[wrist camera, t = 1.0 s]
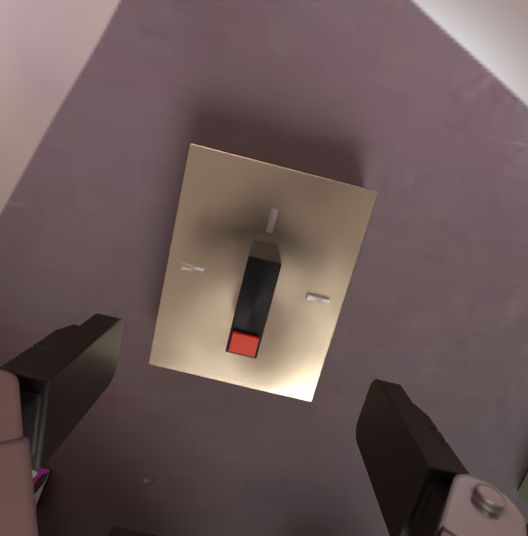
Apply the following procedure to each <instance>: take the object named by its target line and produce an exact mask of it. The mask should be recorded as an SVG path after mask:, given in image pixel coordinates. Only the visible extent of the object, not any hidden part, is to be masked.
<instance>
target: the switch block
mask: <svg viewBox="0 0 528 536" xmlns="http://www.w3.org/2000/svg"><path fill="white" fill-rule="evenodd" d="M518 492H519V494H520V495H521V496H522V497H523V498H524V500H525V501H526V502H527V503H528V472H527V474H526V476H525V478H524V480H523V482H522V484H521V486H520V488H519V490H518Z"/></svg>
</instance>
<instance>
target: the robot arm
mask: <svg viewBox="0 0 528 536" xmlns="http://www.w3.org/2000/svg"><path fill="white" fill-rule="evenodd" d="M122 331H123V320H122V319H119V318H115V317H111V316H106V315H102V314H95V315H94V316H92V317H91V318H90V319H88V320H87V321H85V322H84V323H83V324H81V325H80V326H78V325H71V326H68V327H65V328H61V329H58V330H56V331H54V332H53V333H51V334H50V335H48V336H47V337H45V338H44V340H41V341H39V342H38V343H36V344H35V345H34V346H33V348H32V347H30V348H29V349H27V350H26V351H24V352H23V353H21V354H20V355H18V356H17V357H15V358H14V359H12V360H11V361H9V362H8V363H6V364H5V365H3V366H2V367H0V536H38V526H37V516H36V505H35V495H34V485H33V475H32V470H33V471H38V472H39V471H40V469H41V468H42V467H43V466H44V464H45V463H46V462H47V461H48V459H49V458H50V457H51V456H52V455H53V453H54V452H55V451H56V450H57V448H58V447H59V446H60V445H61V443H62V442H63V441H64V440H65V439H66V437H67V436H68V435H69V434H70V432H71V431H72V430H73V429H74V427H75V426H76V425H77V424H78V422H79V421H80V420H81V419H82V418H83V416H84V415H85V414H86V413H87V411H88V410H89V409H90V408H91V406H92V405H93V404H94V403H95V402H96V400H97V399H98V398H99V397H100V395H101V394H102V393H103V392H104V390H105V389H106V388H107V387H108V385H109V384H110V382H111V380H112V378H113V376H114V373H115V370H116V367H117V361H118V355H119V349H120V343H121V337H122ZM437 430H438V429H437V428H436V426H435V425H434V423H433V422H432V421H431V419H430V418H429V416H427V415H426V414H425V413H424V412H423V411H422V410H421V409H419V408H418V407H417V406H416V405H415V404H413V403H412V401H411V400H410V398H409V397H408V396H407V394H406V393H405V391H404V390H403V388H402V387H401V386H400V385H399V384H395V383H390V382H386V381H382V380H378V379H375V380H374V381H373V382H372V383H371V385H370V388H369V390H368V393H367V396H366V399H365V402H364V405H363V407H362V410H361V413H360V416H359V419H358V422H357V427H356V440H357V444H358V447H359V449H360V452H361V455H362V458H363V461H364V464H365V466H366V469H367V472H368V475H369V478H370V481H371V483H372V486H373V489H374V492H375V495H376V498H377V500H378V503H379V506H380V509H381V512H382V515H383V518H384V520H385V523H386V526H387V529H388V532H389V535H390V536H528V524H527V523H526V520H525V518H524V515H523V514H522V512H521V510H520V509H519V508H518V506H517V505H516V504H515V503H514V502H513V501H512V500H511V499H510V498H509V497H508V496H507V495H506V494H504V493H503V492H502V491H501V490H499V489H498V488H497V487H495V486H494V485H492V484H490V483H489V482H487V481H485V480H483V479H481V478H479V477H476V476H473V475H470V474H469V473H468V471H467V470H466V469H465V467H464V466H463V464H462V463H461V462H460V460H459V459H458V457H457V456H456V455H455V453H454V452H453V450H452V449H451V447H450V446H449V445H448V443H446V442H445V439H444V438H443V436H442V435H441V433H440V432H438V431H437ZM109 536H156V535H151V534H146V533H141V532H136V531H132V530H127V529H122V528H117V527H113V528H112V530H111V532H110V534H109Z"/></svg>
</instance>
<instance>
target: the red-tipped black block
mask: <svg viewBox="0 0 528 536" xmlns="http://www.w3.org/2000/svg"><path fill="white" fill-rule="evenodd" d="M281 265H282V264H281V258H280V252H279V248H278V247H274V246H270V245H266V244H262V243H258V242H254V241H253V243H252V246H251V249H250V252H249V256H248V260H247V264H246V268H245V272H244V276H243V280H242V284H241V288H240V293H239V297H238V301H237V305H236V309H235V313H234V317H233V321H232V325H231V330H230V334H229V338H228V342H227V346H226V350H225V351H226V352H229V353H233V354H238V355H242V356H246V357H251V358H255V359H256V358H257V355H258V351H259V348H260V344H261V340H262V337H263V333H264V329H265V325H266V322H267V318H268V314H269V310H270V307H271V303H272V299H273V295H274V292H275V288H276V284H277V280H278V277H279V273H280V269H281Z"/></svg>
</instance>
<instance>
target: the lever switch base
mask: <svg viewBox="0 0 528 536" xmlns="http://www.w3.org/2000/svg"><path fill="white" fill-rule="evenodd" d="M377 195H378V191H375V190H371V189H367V188H363V187H359V186H355V185H351V184H348V183H344V182H340V181H336V180H332V179H328V178H324V177H321V176H317V175H313V174H309V173H305V172H301V171H297V170H294V169H290V168H286V167H282V166H278V165H274V164H270V163H267V162H263V161H259V160H255V159H251V158H247V157H243V156H239V155H236V154H232V153H228V152H224V151H220V150H216V149H212V148H209V147H205V146H201V145H197V144H193V143H190V146H189V151H188V156H187V162H186V167H185V172H184V177H183V183H182V188H181V193H180V199H179V204H178V209H177V214H176V220H175V225H174V230H173V236H172V241H171V246H170V251H169V257H168V262H167V267H166V273H165V278H164V283H163V288H162V294H161V299H160V304H159V310H158V315H157V320H156V325H155V331H154V336H153V341H152V347H151V352H150V357H149V362H148V364H149V365H153V366H158V367H162V368H166V369H171V370H175V371H179V372H184V373H188V374H192V375H197V376H201V377H205V378H210V379H214V380H218V381H223V382H227V383H231V384H236V385H240V386H244V387H249V388H253V389H257V390H262V391H266V392H270V393H275V394H279V395H283V396H288V397H292V398H296V399H301V400H305V401H309V402H312V400H313V397H314V393H315V390H316V387H317V384H318V381H319V378H320V375H321V371H322V368H323V365H324V362H325V359H326V356H327V353H328V349H329V346H330V343H331V340H332V337H333V334H334V331H335V327H336V324H337V321H338V318H339V315H340V312H341V308H342V305H343V302H344V299H345V296H346V293H347V290H348V286H349V283H350V280H351V277H352V274H353V271H354V268H355V264H356V261H357V258H358V255H359V252H360V249H361V246H362V242H363V239H364V236H365V233H366V230H367V227H368V224H369V220H370V217H371V214H372V211H373V208H374V205H375V201H376V198H377ZM253 241H254V242H258V243H262V244H266V245H270V246H274V247H278V248H279V252H280V258H281V264H282V265H281V269H280V273H279V277H278V280H277V284H276V288H275V292H274V295H273V299H272V303H271V307H270V310H269V314H268V318H267V322H266V325H265V329H264V333H263V337H262V340H261V344H260V348H259V351H258V355H257V358H256V359H255V358H251V357H246V356H242V355H238V354H233V353H229V352H226V351H225V350H226V346H227V342H228V338H229V334H230V330H231V325H232V321H233V317H234V313H235V309H236V305H237V301H238V297H239V293H240V288H241V284H242V280H243V276H244V272H245V268H246V264H247V260H248V256H249V252H250V249H251V246H252V243H253Z"/></svg>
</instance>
